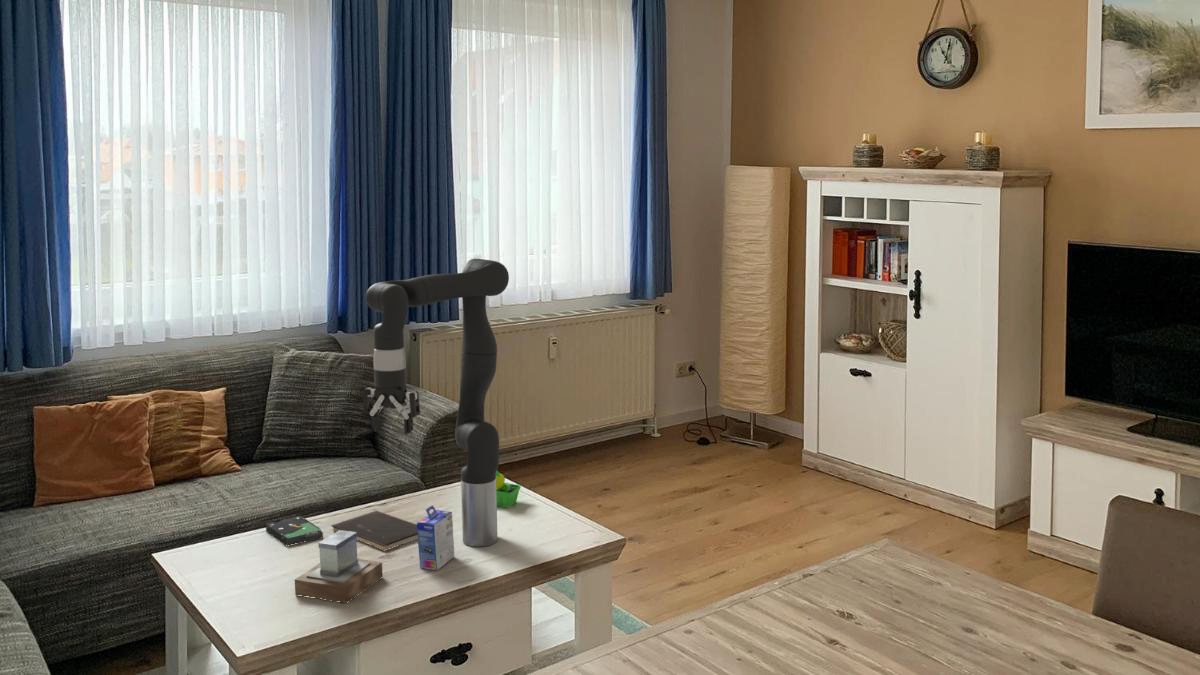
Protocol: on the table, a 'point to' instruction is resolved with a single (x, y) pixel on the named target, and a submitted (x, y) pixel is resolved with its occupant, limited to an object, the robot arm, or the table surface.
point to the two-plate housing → (338, 553)
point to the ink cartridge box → (435, 539)
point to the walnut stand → (339, 582)
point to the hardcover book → (380, 529)
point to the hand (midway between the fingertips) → (392, 431)
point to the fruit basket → (505, 491)
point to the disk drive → (294, 530)
